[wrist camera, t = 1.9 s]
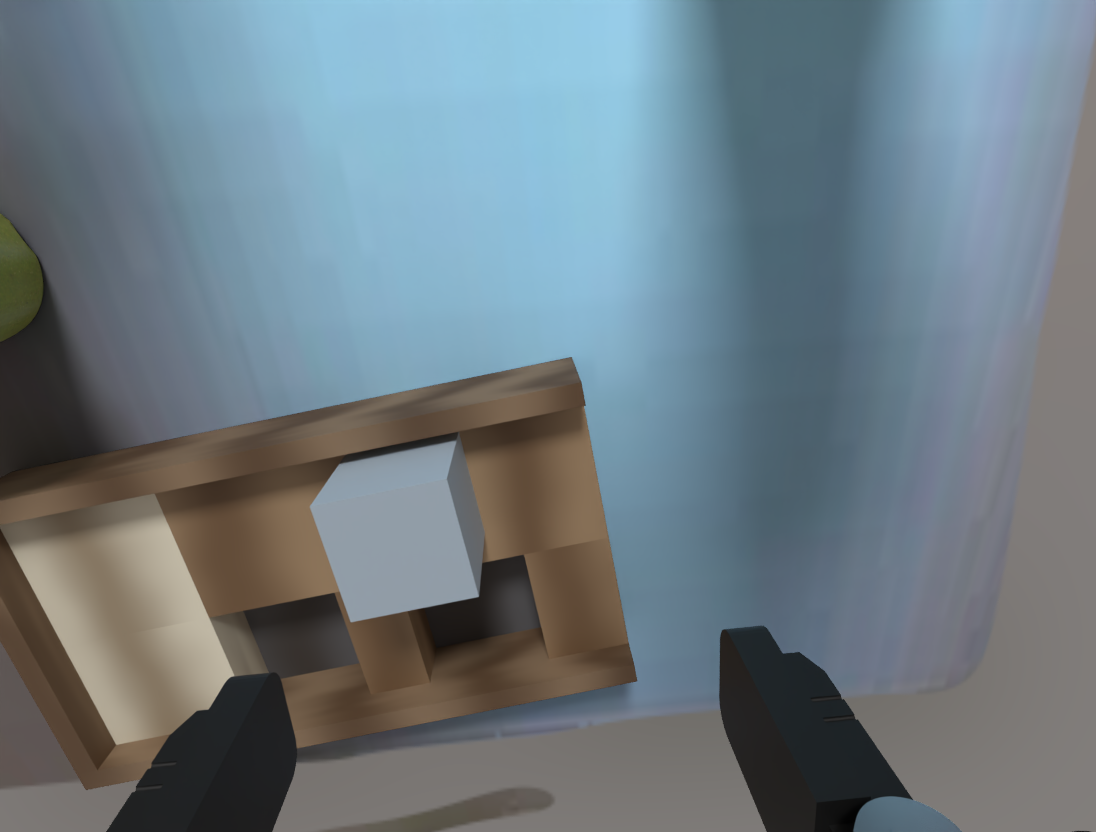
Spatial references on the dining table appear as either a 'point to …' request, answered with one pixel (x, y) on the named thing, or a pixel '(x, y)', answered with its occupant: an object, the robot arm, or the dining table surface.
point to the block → (402, 527)
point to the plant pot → (17, 282)
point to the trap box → (304, 575)
